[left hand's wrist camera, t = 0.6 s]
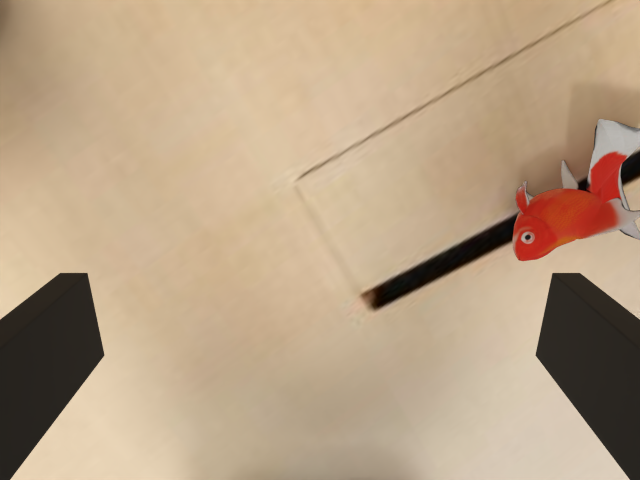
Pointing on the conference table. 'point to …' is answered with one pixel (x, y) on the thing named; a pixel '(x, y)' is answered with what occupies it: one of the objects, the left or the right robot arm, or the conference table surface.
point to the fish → (580, 199)
